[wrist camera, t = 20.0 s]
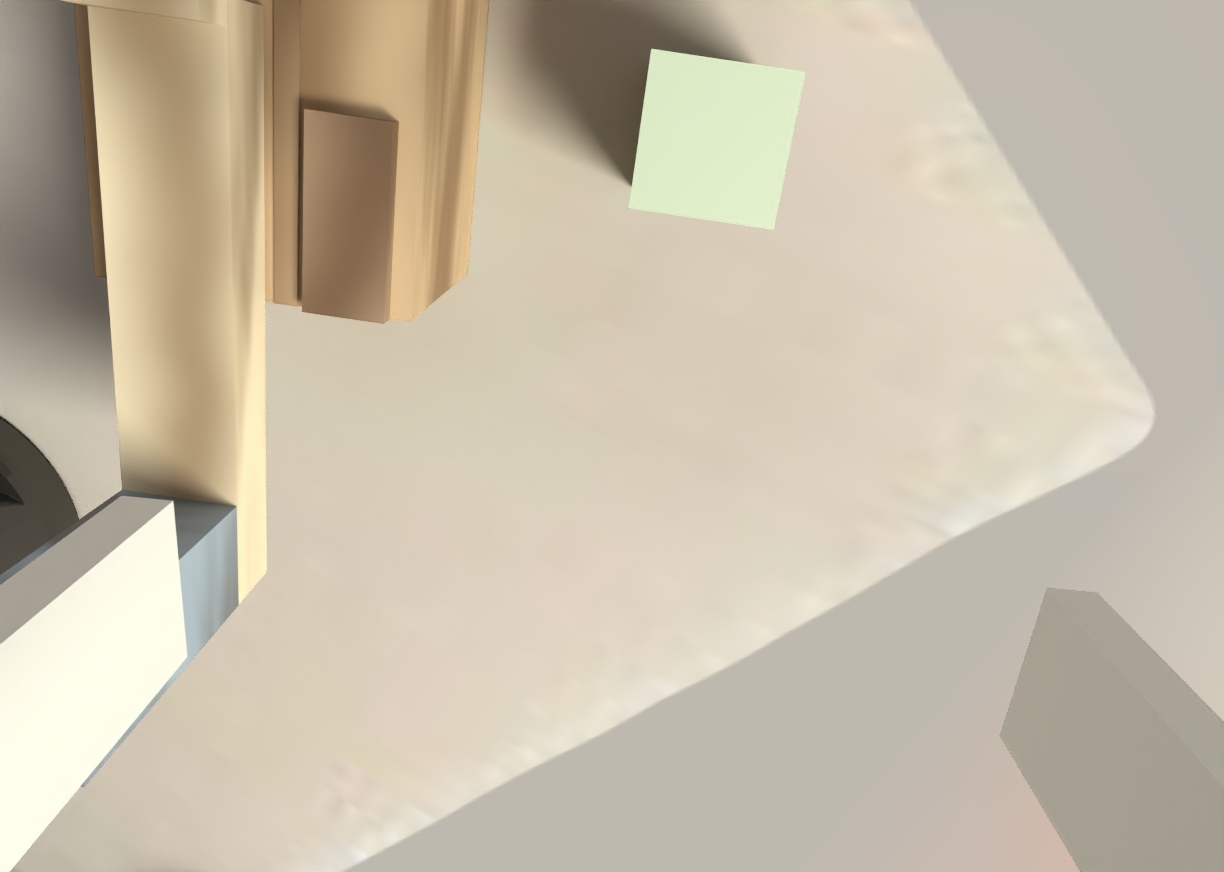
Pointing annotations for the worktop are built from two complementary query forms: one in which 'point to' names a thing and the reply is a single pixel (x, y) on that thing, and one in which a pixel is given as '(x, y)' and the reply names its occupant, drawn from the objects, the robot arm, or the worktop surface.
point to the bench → (356, 151)
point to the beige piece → (186, 284)
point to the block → (714, 138)
